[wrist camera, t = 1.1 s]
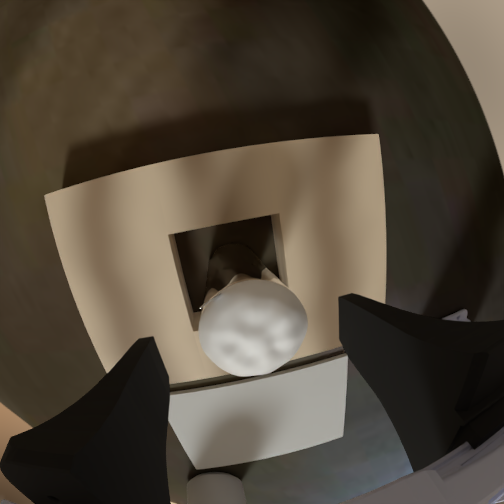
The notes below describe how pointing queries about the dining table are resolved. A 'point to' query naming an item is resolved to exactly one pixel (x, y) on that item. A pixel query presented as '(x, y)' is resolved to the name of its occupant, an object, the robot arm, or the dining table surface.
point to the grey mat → (261, 414)
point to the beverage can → (215, 489)
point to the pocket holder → (214, 213)
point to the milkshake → (248, 315)
